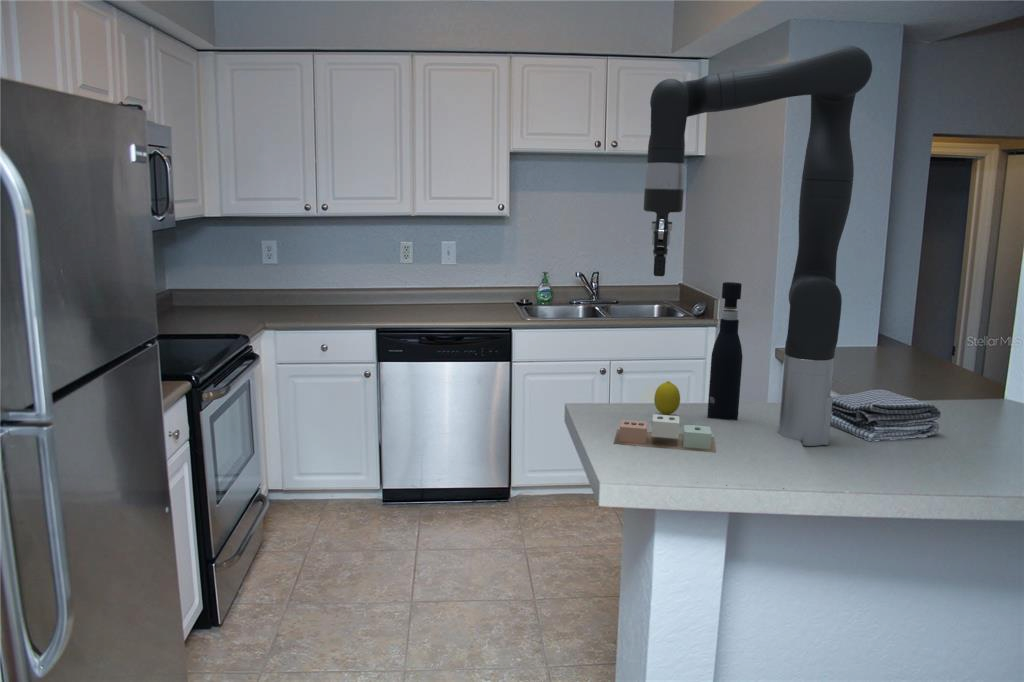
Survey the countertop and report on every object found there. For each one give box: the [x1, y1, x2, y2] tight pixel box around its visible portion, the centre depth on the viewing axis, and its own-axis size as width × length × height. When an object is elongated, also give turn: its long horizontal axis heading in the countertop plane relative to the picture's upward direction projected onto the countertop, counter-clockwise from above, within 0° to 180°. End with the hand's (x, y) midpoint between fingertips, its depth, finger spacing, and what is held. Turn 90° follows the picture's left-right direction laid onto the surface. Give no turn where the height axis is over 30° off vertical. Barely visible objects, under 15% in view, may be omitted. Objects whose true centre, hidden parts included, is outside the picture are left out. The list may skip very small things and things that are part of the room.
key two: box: [651, 413, 680, 439], centre depth 153 cm, size 5×5×3 cm
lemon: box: [653, 380, 681, 416], centre depth 175 cm, size 6×6×8 cm
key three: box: [619, 419, 648, 444], centre depth 154 cm, size 5×5×3 cm
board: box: [612, 428, 717, 453], centre depth 155 cm, size 19×10×1 cm, turn 78°
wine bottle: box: [706, 281, 743, 421], centre depth 171 cm, size 6×6×30 cm
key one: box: [683, 424, 713, 449], centre depth 152 cm, size 5×5×3 cm
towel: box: [830, 389, 942, 442], centre depth 169 cm, size 15×18×8 cm
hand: (659, 275), depth 159 cm, fingers closed
